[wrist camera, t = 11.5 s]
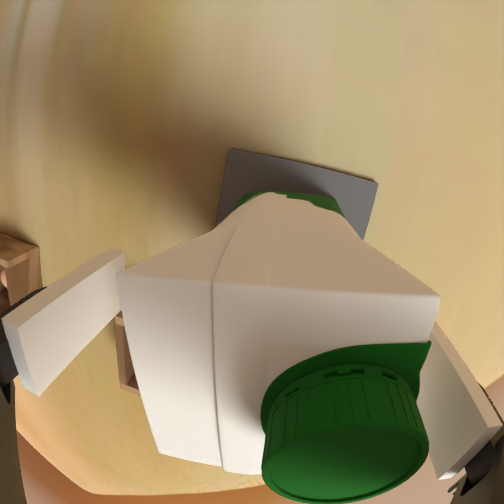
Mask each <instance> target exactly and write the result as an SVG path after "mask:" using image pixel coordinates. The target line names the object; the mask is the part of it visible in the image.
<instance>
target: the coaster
mask: <svg viewBox="0 0 504 504" xmlns="http://www.w3.org/2000/svg"><path fill="white" fill-rule="evenodd" d="M377 187H378V183H376V182H372V181H369V180H365V179H362V178H358V177H355V176H351V175H348V174H344V173H340V172H336V171H333V170H329V169H325V168H321V167H317V166H313V165H308V164H304V163H300V162H296V161H291V160H287V159H282V158H277V157H273V156H268V155H263V154H258V153H253V152H248V151H242V150H237V149H231V148H229V153H228V159H227V164H226V169H225V175H224V180H223V186H222V191H221V197H220V202H219V208H218V214H217V220H216V226H215V228H216V227H217V226H218V225H219V224H220V223H221V222H222V221H223V220H225V219H226V218H227V217H228V216H229V214H230V213H231V212H232V210H233V209H234V208H235V206H236V205H237V204H238V202H239V201H240V200H241V199H242V197H243V196H244V195H245V194H246V193H256V192H262V191H283V192H296V193H306V194H315V195H321V196H326V197H330V198H333V199H336V201H337V203H338V205H339V207H340V209H341V211H342V213H343V215H344V217H345V218H346V220H347V221H348V223H349V224H350V225H351V226H352V228H353V229H354V230H355V232H356V233H357V234H358V236H359V237H360V238H361V239H362V240H363V239H364V236H365V232H366V229H367V225H368V222H369V218H370V214H371V211H372V207H373V203H374V199H375V195H376V191H377Z"/></svg>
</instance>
